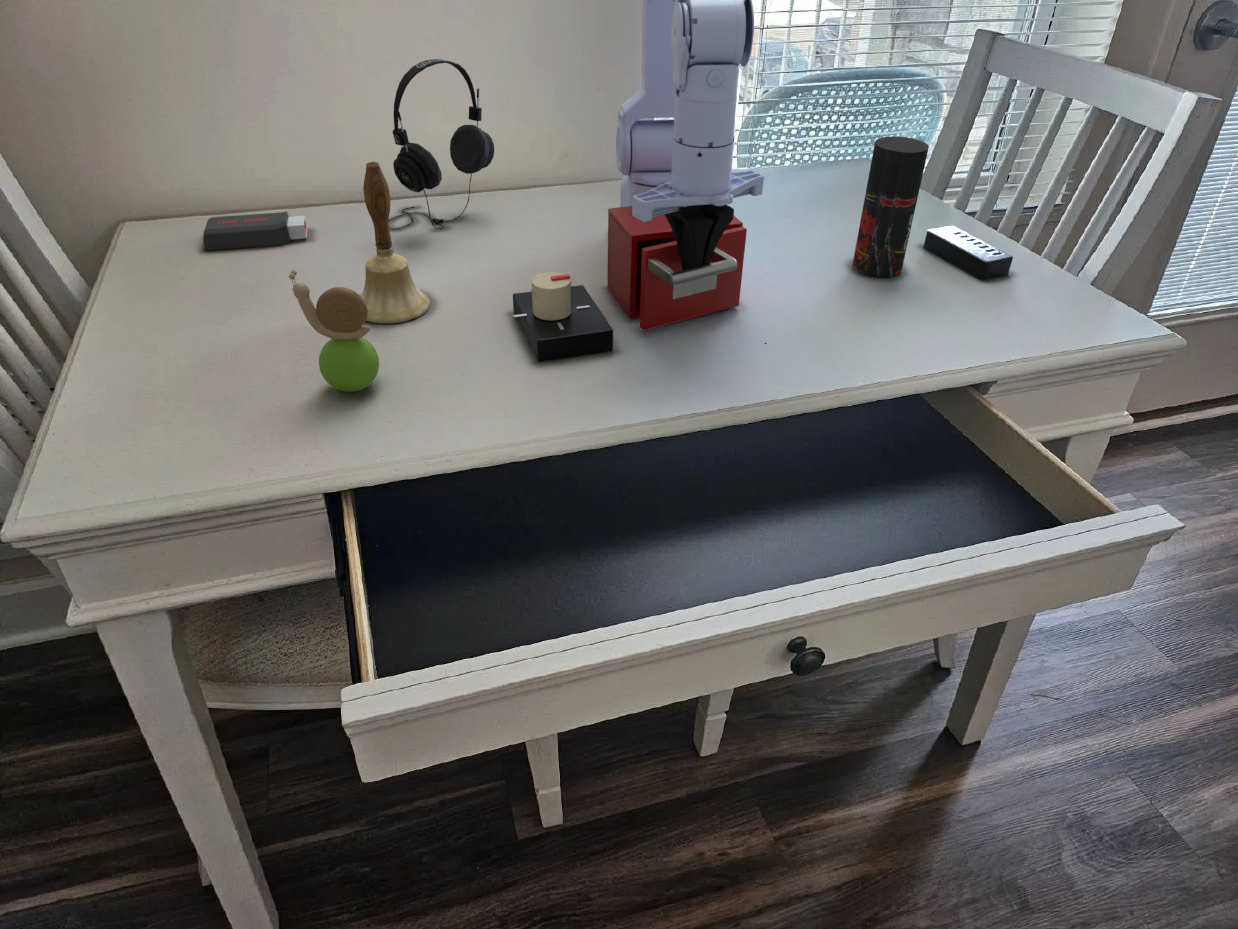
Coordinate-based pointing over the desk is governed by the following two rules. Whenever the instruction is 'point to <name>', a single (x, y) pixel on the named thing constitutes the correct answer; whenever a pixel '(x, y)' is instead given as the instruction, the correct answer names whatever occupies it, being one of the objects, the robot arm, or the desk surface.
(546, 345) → the panel
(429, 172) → the headphones
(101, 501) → the desk surface
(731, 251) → the red drawer
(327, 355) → the snail figurine
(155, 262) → the desk surface
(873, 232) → the deodorant
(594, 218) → the desk surface
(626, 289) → the cabinet
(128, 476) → the desk surface
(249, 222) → the usb drive
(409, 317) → the hand bell
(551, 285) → the lock dial
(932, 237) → the multiport hub
